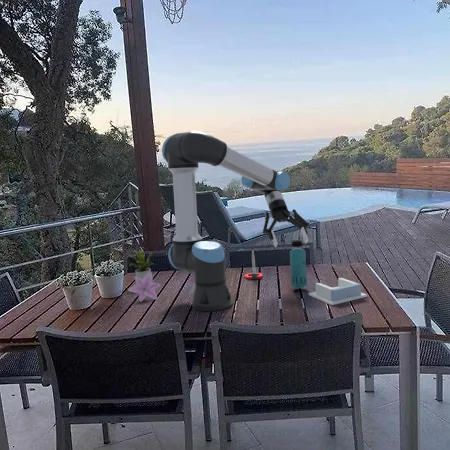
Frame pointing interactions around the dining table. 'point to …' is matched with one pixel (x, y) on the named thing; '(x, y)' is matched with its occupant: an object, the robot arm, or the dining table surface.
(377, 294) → the dining table surface
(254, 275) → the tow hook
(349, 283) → the stop cradle
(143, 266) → the house plant
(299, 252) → the beverage bottle
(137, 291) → the lily
